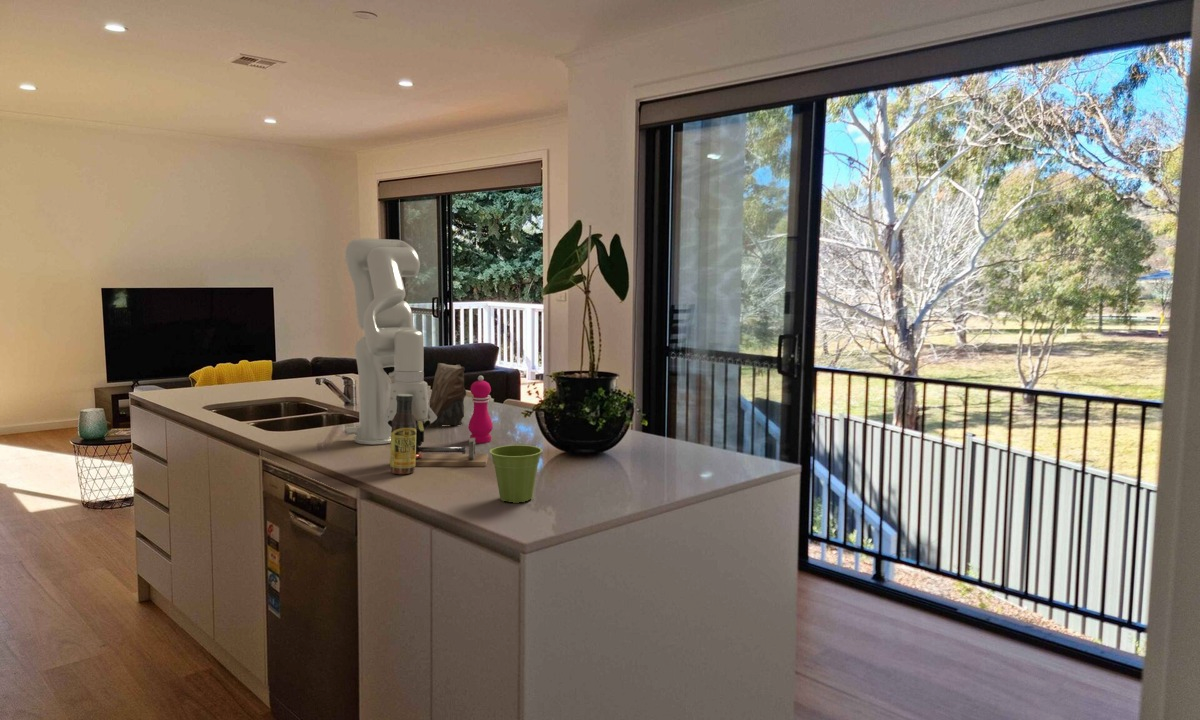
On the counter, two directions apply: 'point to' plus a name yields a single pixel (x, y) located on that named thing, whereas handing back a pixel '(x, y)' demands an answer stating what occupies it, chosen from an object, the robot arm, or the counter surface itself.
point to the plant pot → (516, 471)
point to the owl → (448, 395)
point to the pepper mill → (480, 412)
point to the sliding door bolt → (436, 448)
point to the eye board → (454, 458)
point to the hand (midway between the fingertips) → (409, 444)
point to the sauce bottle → (403, 437)
